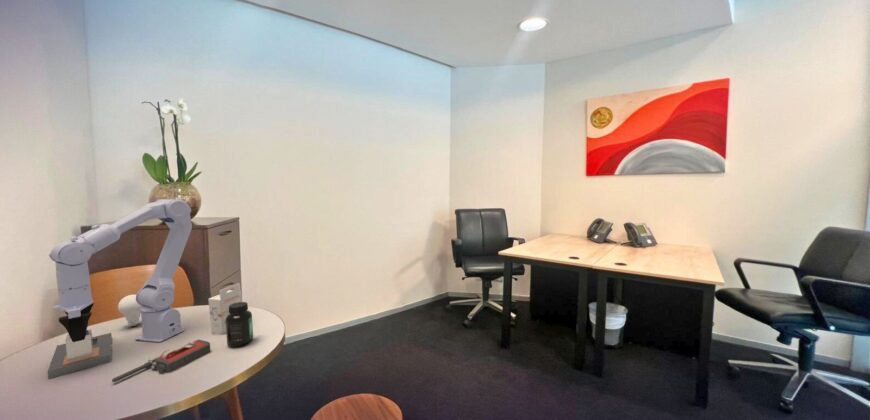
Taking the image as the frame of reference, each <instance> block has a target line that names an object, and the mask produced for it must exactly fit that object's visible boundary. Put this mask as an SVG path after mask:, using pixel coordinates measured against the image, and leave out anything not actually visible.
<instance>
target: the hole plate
mask: <svg viewBox="0 0 870 420" xmlns="http://www.w3.org/2000/svg"><path fill="white" fill-rule="evenodd" d="M112 336H113V335H112V332H109V333H105V334H101V335H95V336H92V341H93V356H90V357H86V358H82V359H78V360H74V361H71V362H68V359H67V350H66V343H61V344H58V345H56V346H55V350H54V353H53V355H52V358H51V361H50V364H49V367H48V369H47V378H48V379H49V380H51V379H53V378H57V377H60V376H64V375H68V374H72V373H75V372H79V371H81V370H82V371H83V370H85V369H89V368H93V367H96V366H100V365H103V364H107V363H110V362H112V350H113V349H112V347H113V346H112V345H113V337H112Z"/></svg>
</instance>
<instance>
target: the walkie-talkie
mask: <svg viewBox="0 0 870 420" xmlns="http://www.w3.org/2000/svg"><path fill="white" fill-rule="evenodd" d="M209 353H211V343H210V341H207V340H203V339H196V340H193V341H189V342H188V343H187V344H184V345H177V346H175V347H172V348H170V349H167V350H165V351H164V352H163V351H162V353H161V354H157V355H156V356H154V357H150V358H149V359H147V361H146V362H145V363H144V364H143V365H139V366H137V367H135V368H133V369H131V370H128V371H126V372H124V373H122V374H120V375H117V376H115V377H114V378H112V380H111V382H112V383H117V382H119V381H121V380H122V379H125V378H127V377H129V376H131V375H133V374H135V373H138V372H140V371H142V370H145V369H148V368H150V370H152V371H153V370H156V371H157V372H158V373H160V374H161V373H166V374H169V373H173V371H176V370H178V369H179V368H181V367H184V366H186V365H187V364H189V363H191V362H193V361H195V360H198V359H199V358H201V357H203V356H205V355H207V354H209Z"/></svg>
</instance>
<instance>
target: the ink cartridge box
mask: <svg viewBox="0 0 870 420" xmlns="http://www.w3.org/2000/svg"><path fill="white" fill-rule="evenodd" d="M241 289H242V288H241V284H240V282H236V283H235V284H231V285H230V286H226V287H224V288H221V289H219V291H218V292H219V294H217V295H215V296H212V297H209V298H208V299H207V300H208V308H209V309H208V311H209V320H210V332H211V334H215V333H218V334H217V335H225V334H226V317H227V316H228V315H229V314H230V313H229V306H230V305H231V304H234V303H238V302H243V297H242V290H241ZM224 333H225V334H224Z"/></svg>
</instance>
